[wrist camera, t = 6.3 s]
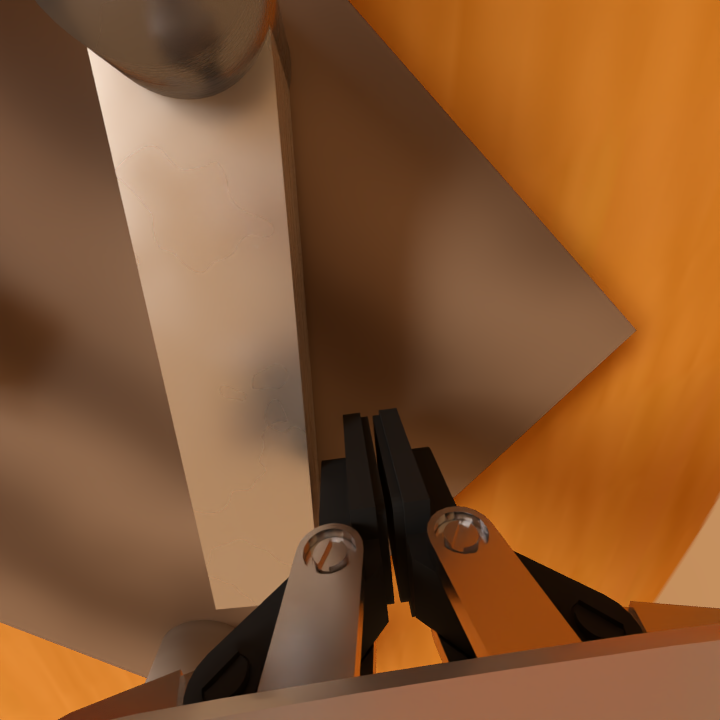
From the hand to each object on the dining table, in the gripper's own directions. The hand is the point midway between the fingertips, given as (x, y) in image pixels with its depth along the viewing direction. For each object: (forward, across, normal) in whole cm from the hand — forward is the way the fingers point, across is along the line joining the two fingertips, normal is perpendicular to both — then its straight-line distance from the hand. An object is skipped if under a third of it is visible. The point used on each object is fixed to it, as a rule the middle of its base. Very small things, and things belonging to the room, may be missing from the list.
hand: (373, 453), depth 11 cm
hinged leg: (+1, +3, -4) cm, 5 cm away
